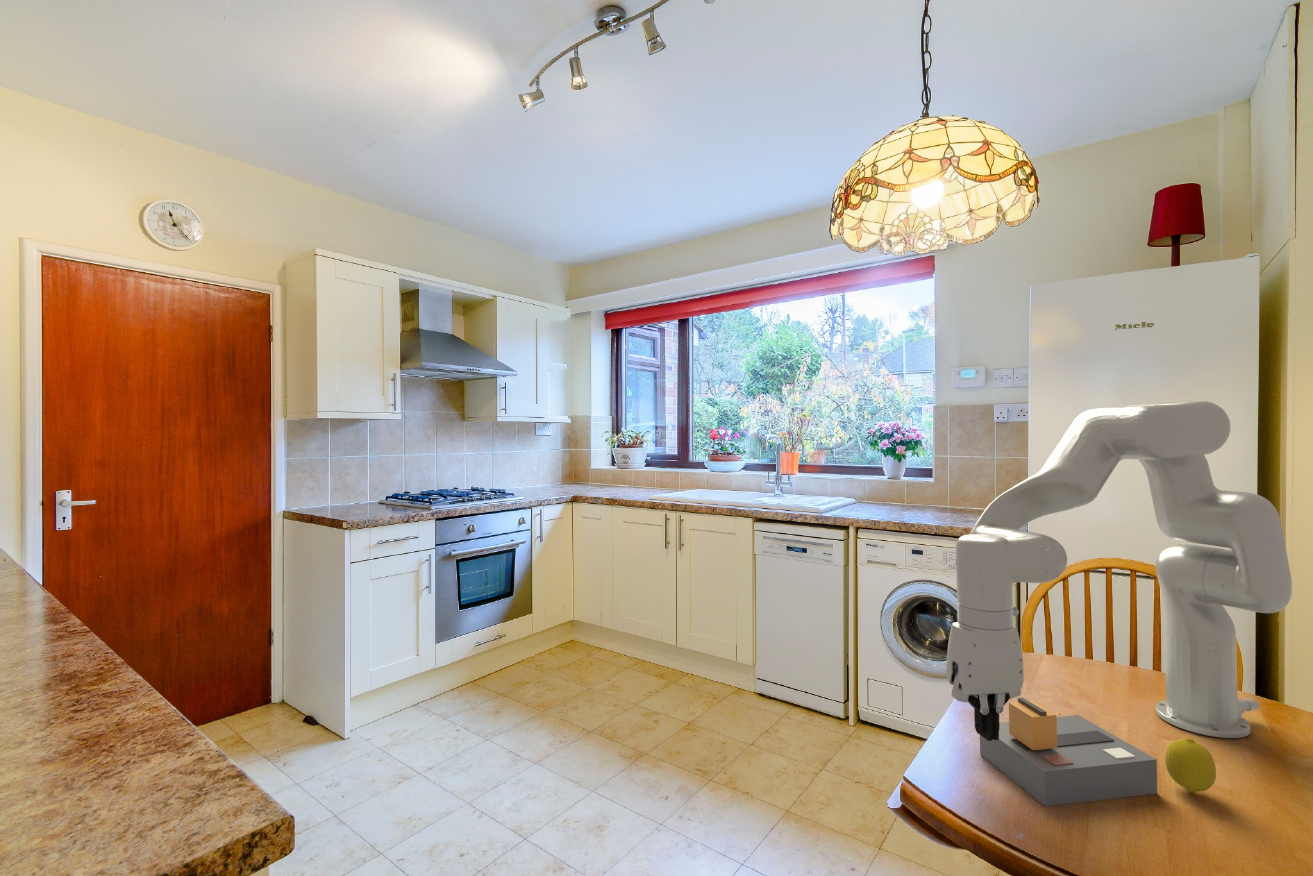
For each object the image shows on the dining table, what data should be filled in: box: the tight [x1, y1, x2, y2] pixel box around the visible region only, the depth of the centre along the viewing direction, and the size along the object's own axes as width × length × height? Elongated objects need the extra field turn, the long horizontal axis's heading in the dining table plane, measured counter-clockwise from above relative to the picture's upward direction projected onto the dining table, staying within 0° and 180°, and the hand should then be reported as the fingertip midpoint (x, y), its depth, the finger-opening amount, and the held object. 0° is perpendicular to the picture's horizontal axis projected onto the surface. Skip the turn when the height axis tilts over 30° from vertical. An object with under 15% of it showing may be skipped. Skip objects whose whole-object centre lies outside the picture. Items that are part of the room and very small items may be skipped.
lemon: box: [1164, 737, 1217, 794], centre depth 88 cm, size 6×6×8 cm
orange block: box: [1008, 696, 1058, 750], centre depth 93 cm, size 4×5×6 cm
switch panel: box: [979, 714, 1158, 807], centre depth 94 cm, size 18×14×5 cm
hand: (987, 735), depth 92 cm, fingers closed
